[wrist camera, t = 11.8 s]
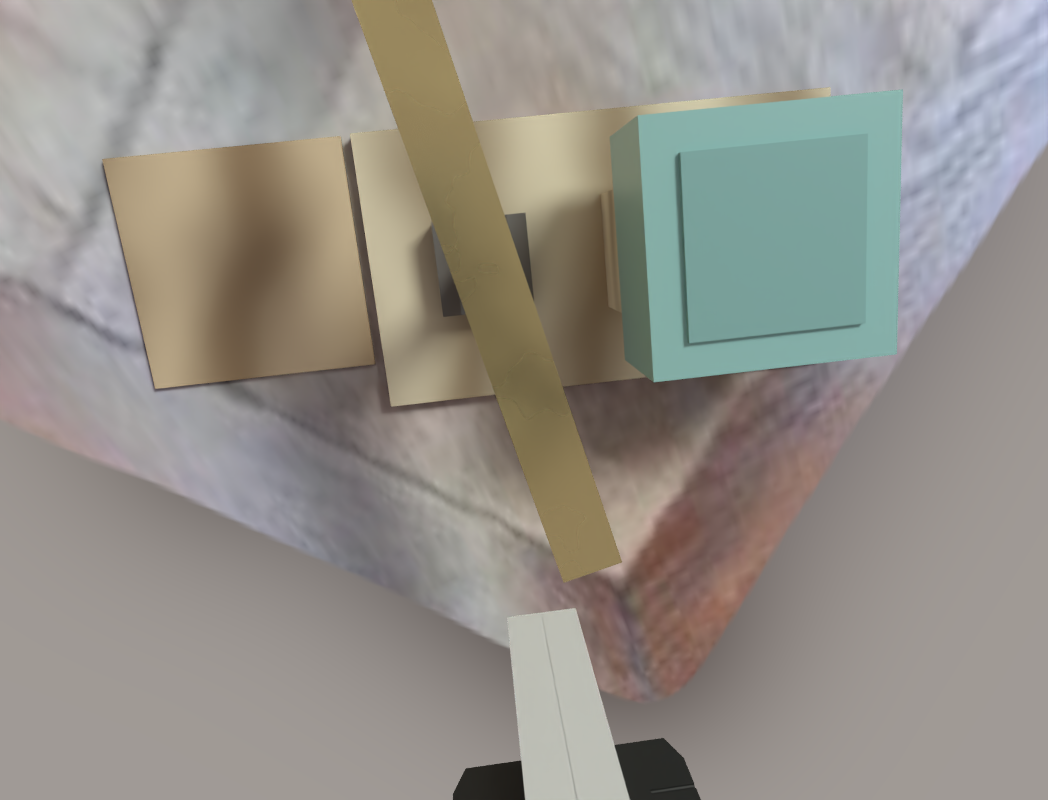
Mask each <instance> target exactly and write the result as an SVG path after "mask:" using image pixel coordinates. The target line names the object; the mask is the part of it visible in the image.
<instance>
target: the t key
mask: <svg viewBox="0 0 1048 800" xmlns="http://www.w3.org/2000/svg"><path fill="white" fill-rule="evenodd" d="M352 3H353V6H354V8H355V11H356V14H357V17H358V19H359V22H360V25H361V28H362V30H363V33H364V36H365V39H366V41H367V44H368V47H369V50H370V52H371V55H372V58H373V60H374V63H375V66H376V69H377V71H378V74H379V77H380V80H381V82H382V85H383V88H384V91H385V93H386V96H387V99H388V102H389V104H390V107H391V110H392V113H393V115H394V118H395V121H396V124H397V126H398V129H399V132H400V135H401V137H402V140H403V143H404V146H405V148H406V151H407V154H408V157H409V159H410V162H411V165H412V168H413V170H414V173H415V176H416V179H417V181H418V184H419V187H420V190H421V192H422V195H423V198H424V200H425V203H426V206H427V209H428V211H429V214H430V217H431V220H432V222H433V225H434V228H435V231H436V233H437V236H438V239H439V242H440V244H441V247H442V250H443V253H444V255H445V258H446V261H447V264H448V266H449V269H450V272H451V275H452V277H453V280H454V283H455V286H456V288H457V291H458V294H459V297H460V299H461V302H462V305H463V308H464V310H465V313H466V316H467V319H468V321H469V324H470V327H471V330H472V332H473V335H474V338H475V340H476V343H477V346H478V349H479V351H480V354H481V357H482V360H483V362H484V365H485V368H486V371H487V373H488V376H489V379H490V382H491V384H492V387H493V390H494V393H495V395H496V398H497V401H498V404H499V406H500V409H501V412H502V415H503V417H504V420H505V423H506V426H507V428H508V431H509V434H510V437H511V439H512V442H513V445H514V448H515V450H516V453H517V456H518V459H519V461H520V464H521V467H522V470H523V472H524V475H525V478H526V480H527V483H528V486H529V489H530V491H531V494H532V497H533V500H534V502H535V505H536V508H537V511H538V513H539V516H540V519H541V522H542V524H543V527H544V530H545V533H546V535H547V538H548V541H549V544H550V546H551V549H552V552H553V555H554V557H555V560H556V563H557V566H558V568H559V571H560V574H561V577H562V579H563V582H567V581H570V580H573V579H576V578H579V577H581V576H584V575H587V574H590V573H593V572H596V571H599V570H601V569H604V568H607V567H610V566H613V565H616V564H618V563H621V562H622V561H621V558H620V555H619V552H618V549H617V546H616V543H615V540H614V537H613V534H612V531H611V528H610V525H609V522H608V519H607V517H606V514H605V511H604V508H603V505H602V502H601V499H600V496H599V493H598V490H597V487H596V484H595V481H594V478H593V475H592V472H591V469H590V466H589V463H588V460H587V457H586V454H585V452H584V449H583V446H582V443H581V440H580V437H579V434H578V431H577V428H576V425H575V422H574V419H573V416H572V413H571V410H570V407H569V404H568V401H567V398H566V395H565V392H564V389H563V386H562V384H561V381H560V378H559V375H558V372H557V369H556V366H555V363H554V360H553V357H552V354H551V351H550V348H549V345H548V342H547V339H546V336H545V333H544V330H543V327H542V324H541V321H540V319H539V316H538V313H537V310H536V307H535V304H534V301H533V298H532V295H531V292H530V289H529V286H528V283H527V280H526V277H525V274H524V271H523V268H522V265H521V262H520V259H519V256H518V253H517V251H516V248H515V245H514V242H513V239H512V236H511V233H510V230H509V227H508V224H507V221H506V218H505V215H504V212H503V209H502V206H501V203H500V200H499V197H498V194H497V191H496V188H495V186H494V183H493V180H492V177H491V174H490V171H489V168H488V165H487V162H486V159H485V156H484V153H483V150H482V147H481V144H480V141H479V138H478V135H477V132H476V129H475V126H474V123H473V121H472V118H471V115H470V112H469V109H468V106H467V103H466V100H465V97H464V94H463V91H462V88H461V85H460V82H459V79H458V76H457V73H456V70H455V67H454V64H453V61H452V58H451V55H450V53H449V50H448V47H447V44H446V41H445V38H444V35H443V32H442V29H441V26H440V23H439V20H438V17H437V14H436V11H435V8H434V5H433V2H432V0H352Z"/></svg>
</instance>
